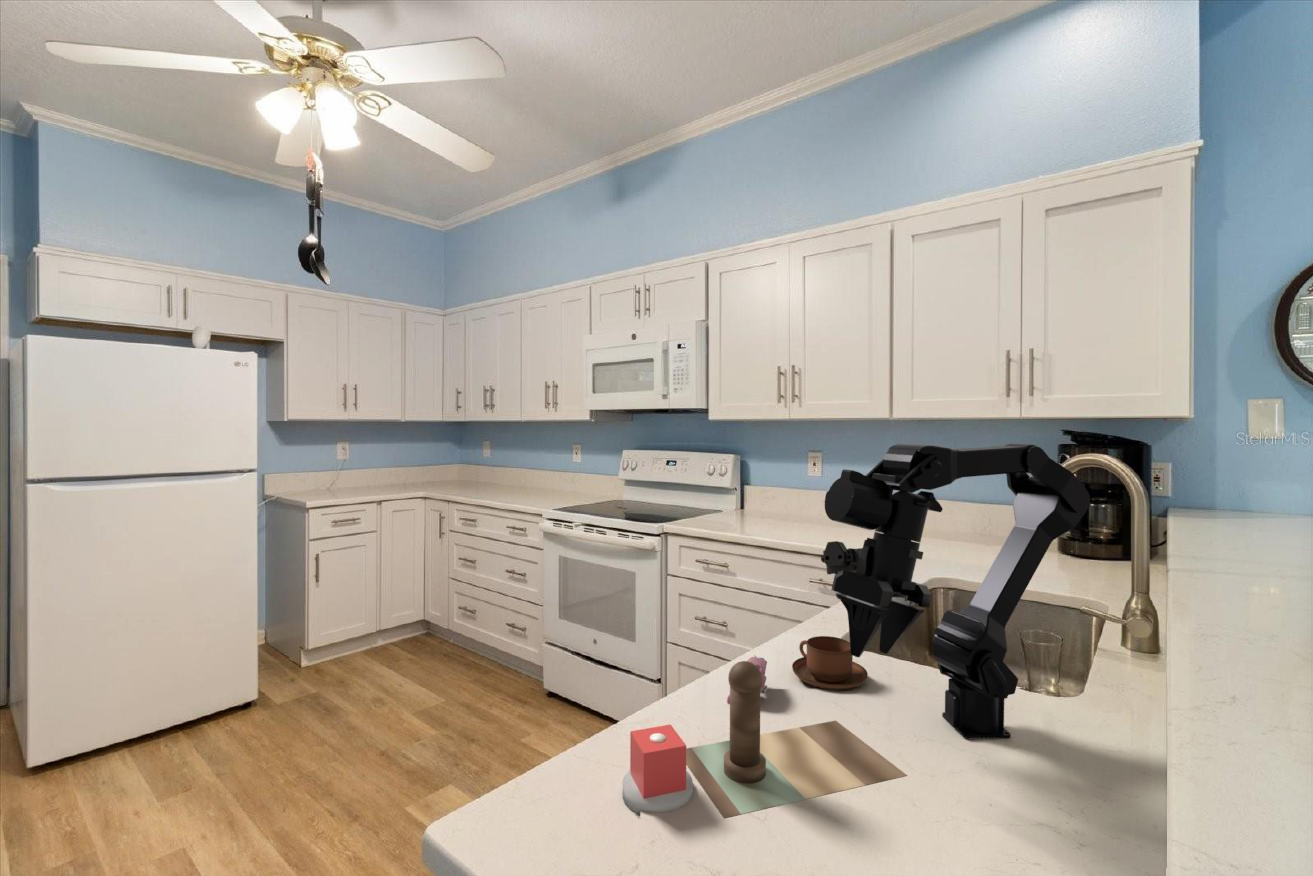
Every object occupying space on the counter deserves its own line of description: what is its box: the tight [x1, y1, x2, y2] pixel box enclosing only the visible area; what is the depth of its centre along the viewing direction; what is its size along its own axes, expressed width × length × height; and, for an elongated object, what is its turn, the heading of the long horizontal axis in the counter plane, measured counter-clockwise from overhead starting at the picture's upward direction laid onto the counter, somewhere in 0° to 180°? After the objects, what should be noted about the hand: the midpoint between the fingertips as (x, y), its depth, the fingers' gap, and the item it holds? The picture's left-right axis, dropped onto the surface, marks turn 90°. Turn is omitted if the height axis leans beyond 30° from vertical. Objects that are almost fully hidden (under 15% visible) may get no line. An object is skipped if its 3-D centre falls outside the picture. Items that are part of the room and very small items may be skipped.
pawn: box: [724, 660, 766, 784], centre depth 72 cm, size 5×5×13 cm
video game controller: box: [726, 654, 768, 705], centre depth 94 cm, size 10×5×7 cm, turn 169°
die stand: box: [622, 724, 694, 815], centre depth 69 cm, size 8×8×7 cm
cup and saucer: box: [791, 635, 868, 691], centre depth 100 cm, size 12×12×6 cm
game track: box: [686, 720, 908, 819], centre depth 75 cm, size 24×14×1 cm, turn 109°
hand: (869, 654), depth 79 cm, fingers open, 9 cm apart
